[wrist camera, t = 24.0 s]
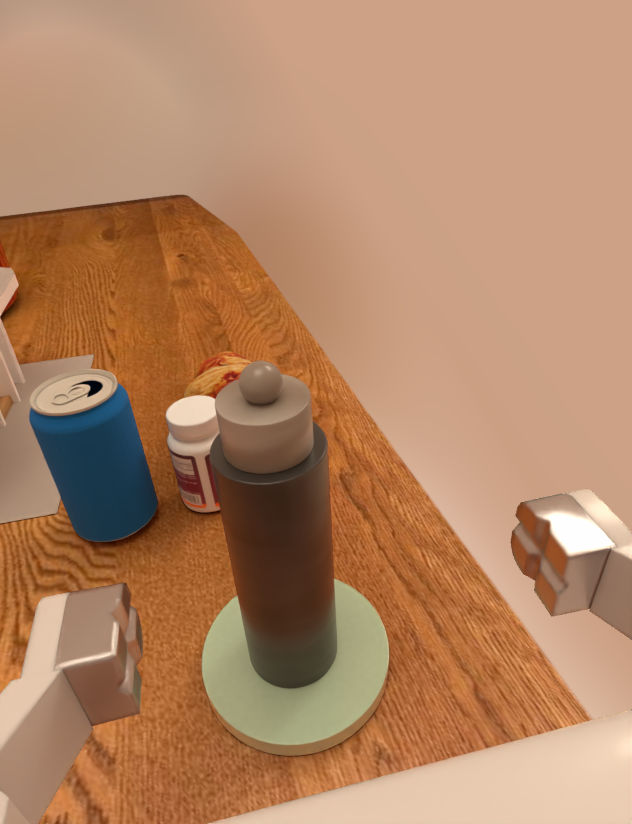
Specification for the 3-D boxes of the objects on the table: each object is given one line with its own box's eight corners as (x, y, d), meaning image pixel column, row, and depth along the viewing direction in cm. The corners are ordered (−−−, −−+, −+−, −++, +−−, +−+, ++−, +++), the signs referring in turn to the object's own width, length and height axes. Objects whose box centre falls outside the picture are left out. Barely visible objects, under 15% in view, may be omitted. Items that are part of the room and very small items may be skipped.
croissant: (207, 401, 65) (162, 351, 60) (280, 352, 64) (238, 297, 59) (226, 528, 47) (163, 471, 43) (326, 464, 46) (272, 399, 42)
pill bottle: (236, 470, 49) (221, 387, 44) (243, 507, 45) (228, 421, 40) (180, 481, 48) (159, 398, 43) (183, 520, 44) (160, 433, 39)
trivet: (344, 795, 28) (344, 783, 27) (166, 704, 32) (162, 693, 31) (413, 617, 36) (413, 606, 35) (263, 564, 40) (261, 552, 39)
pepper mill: (313, 704, 30) (284, 410, 20) (232, 667, 32) (165, 382, 22) (351, 626, 34) (344, 345, 23) (276, 597, 36) (238, 326, 25)
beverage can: (175, 514, 45) (141, 385, 38) (102, 563, 41) (49, 429, 34) (131, 479, 48) (93, 356, 42) (60, 521, 45) (6, 393, 38)
